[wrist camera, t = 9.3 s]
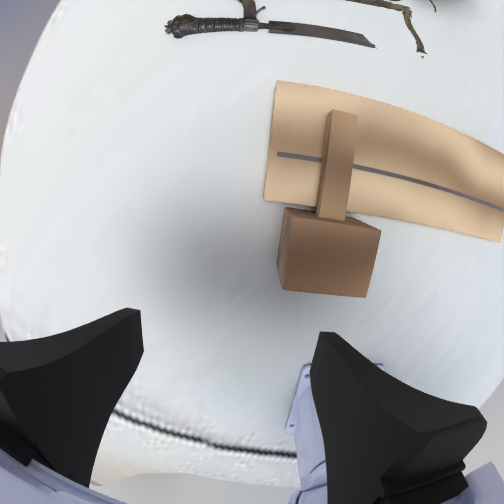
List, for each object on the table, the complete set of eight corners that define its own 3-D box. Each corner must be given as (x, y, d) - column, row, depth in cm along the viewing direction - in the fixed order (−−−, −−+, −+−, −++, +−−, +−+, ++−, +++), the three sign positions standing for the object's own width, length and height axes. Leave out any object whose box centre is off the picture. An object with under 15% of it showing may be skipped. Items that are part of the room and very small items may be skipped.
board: (490, 239, 19) (500, 243, 17) (263, 198, 19) (263, 200, 17) (499, 158, 17) (510, 158, 15) (275, 87, 17) (276, 79, 15)
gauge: (342, 270, 20) (365, 297, 15) (276, 262, 20) (282, 289, 15) (364, 130, 17) (395, 117, 12) (296, 115, 17) (309, 95, 12)
